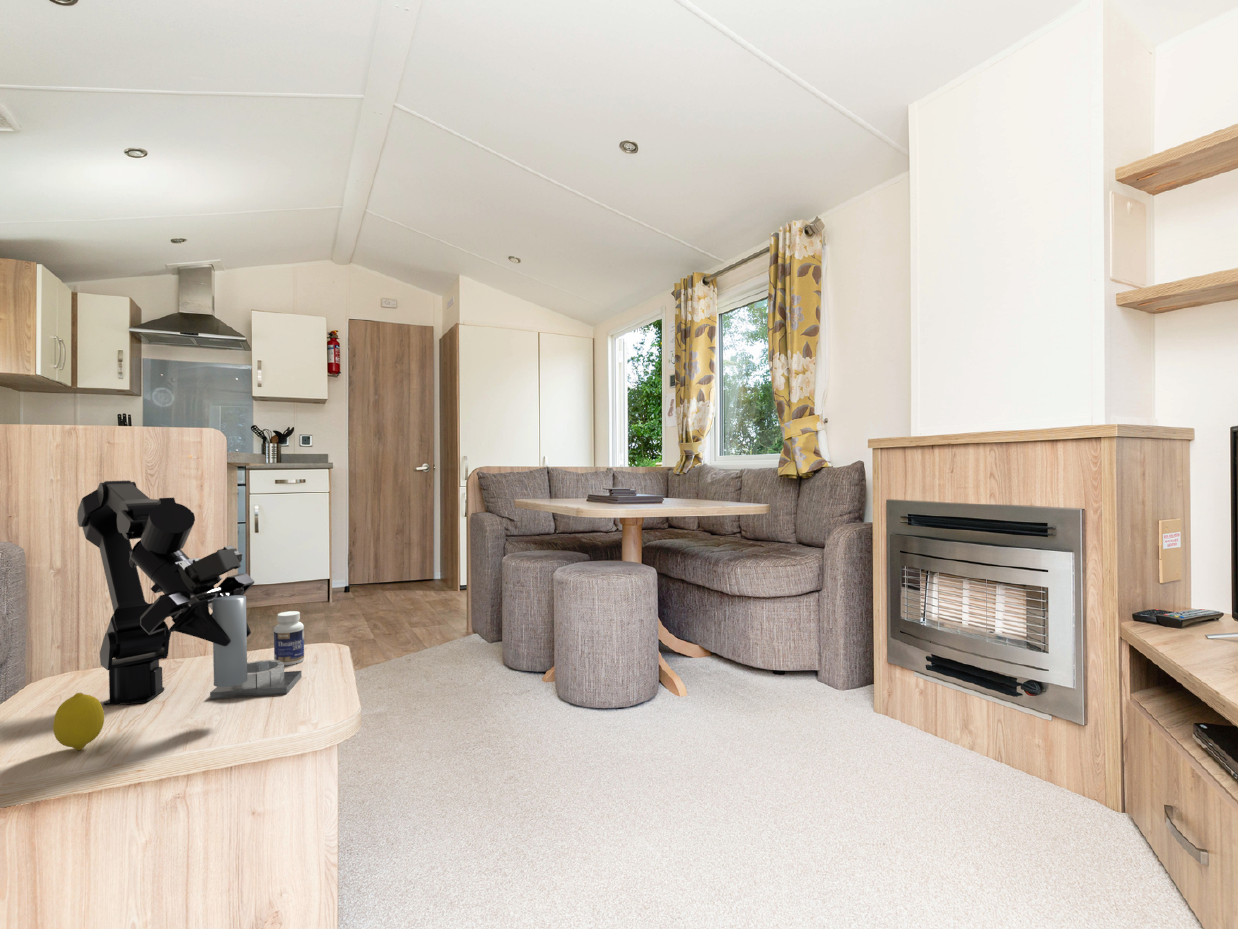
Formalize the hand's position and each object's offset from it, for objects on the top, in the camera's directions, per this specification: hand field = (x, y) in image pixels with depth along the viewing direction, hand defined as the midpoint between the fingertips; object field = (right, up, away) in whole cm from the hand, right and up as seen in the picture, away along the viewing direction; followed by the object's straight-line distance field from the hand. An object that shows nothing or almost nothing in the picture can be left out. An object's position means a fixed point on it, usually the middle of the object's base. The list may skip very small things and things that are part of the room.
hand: (238, 639), depth 103 cm
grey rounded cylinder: (-1, -7, 0) cm, 7 cm away
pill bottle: (-7, -12, +30) cm, 33 cm away
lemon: (-17, -13, -10) cm, 23 cm away
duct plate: (-5, -12, +15) cm, 20 cm away
